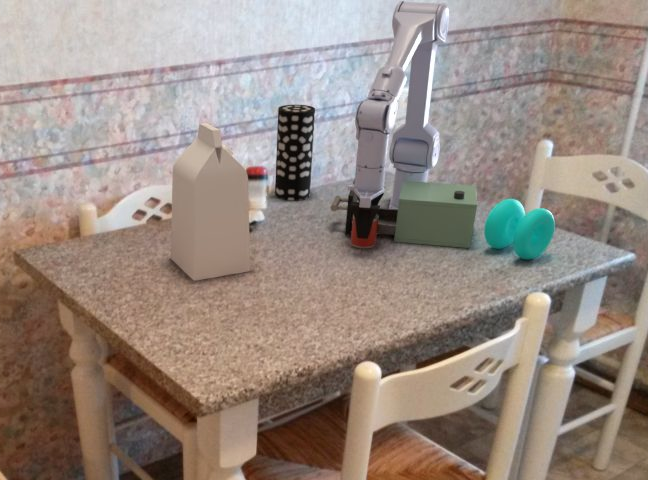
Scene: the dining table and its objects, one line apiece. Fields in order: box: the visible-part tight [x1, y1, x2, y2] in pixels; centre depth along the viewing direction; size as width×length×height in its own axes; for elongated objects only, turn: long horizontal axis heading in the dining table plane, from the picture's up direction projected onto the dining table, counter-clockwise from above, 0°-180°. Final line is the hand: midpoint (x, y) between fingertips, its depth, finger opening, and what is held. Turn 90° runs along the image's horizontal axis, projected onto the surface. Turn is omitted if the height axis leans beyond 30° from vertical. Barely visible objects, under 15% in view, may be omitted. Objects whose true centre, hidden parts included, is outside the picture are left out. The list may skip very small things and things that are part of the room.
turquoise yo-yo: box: [483, 198, 556, 261], centre depth 159 cm, size 10×10×10 cm
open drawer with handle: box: [330, 179, 398, 236], centre depth 171 cm, size 13×18×8 cm
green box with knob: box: [393, 181, 478, 249], centre depth 168 cm, size 13×15×10 cm
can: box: [350, 214, 379, 250], centre depth 164 cm, size 5×5×6 cm
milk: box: [170, 122, 251, 282], centre depth 150 cm, size 12×12×26 cm
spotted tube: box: [274, 104, 316, 201], centre depth 189 cm, size 8×8×20 cm
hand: (364, 231), depth 164 cm, fingers open, 7 cm apart
